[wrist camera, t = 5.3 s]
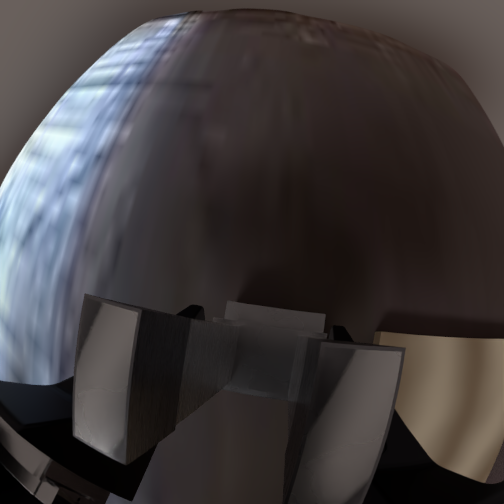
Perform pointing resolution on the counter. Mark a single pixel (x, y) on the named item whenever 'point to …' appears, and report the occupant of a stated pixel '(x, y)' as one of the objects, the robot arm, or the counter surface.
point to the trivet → (452, 398)
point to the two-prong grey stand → (237, 387)
